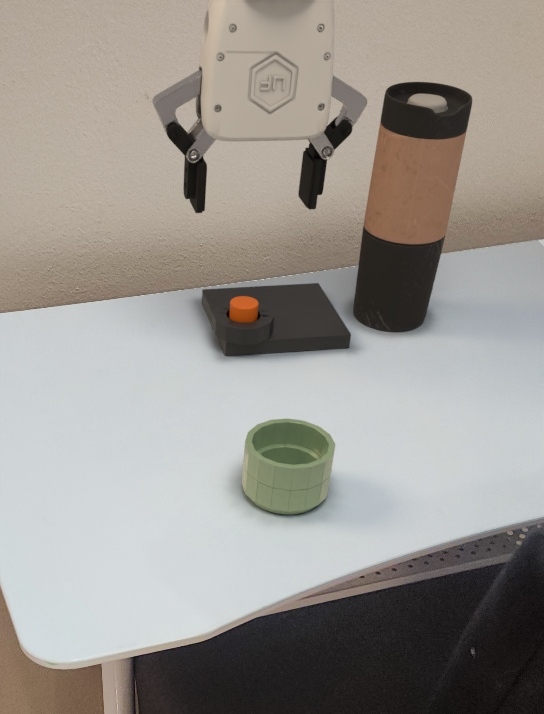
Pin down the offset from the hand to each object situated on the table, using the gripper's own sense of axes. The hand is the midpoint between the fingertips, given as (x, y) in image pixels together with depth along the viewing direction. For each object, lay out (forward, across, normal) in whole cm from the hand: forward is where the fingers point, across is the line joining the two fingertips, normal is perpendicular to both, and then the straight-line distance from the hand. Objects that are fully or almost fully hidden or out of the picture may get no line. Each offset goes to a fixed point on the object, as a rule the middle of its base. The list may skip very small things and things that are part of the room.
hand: (252, 205), depth 85 cm
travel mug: (+13, +16, +4) cm, 21 cm away
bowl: (+13, -2, -23) cm, 27 cm away
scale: (+13, +4, +4) cm, 14 cm away
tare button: (+10, 0, 0) cm, 10 cm away
